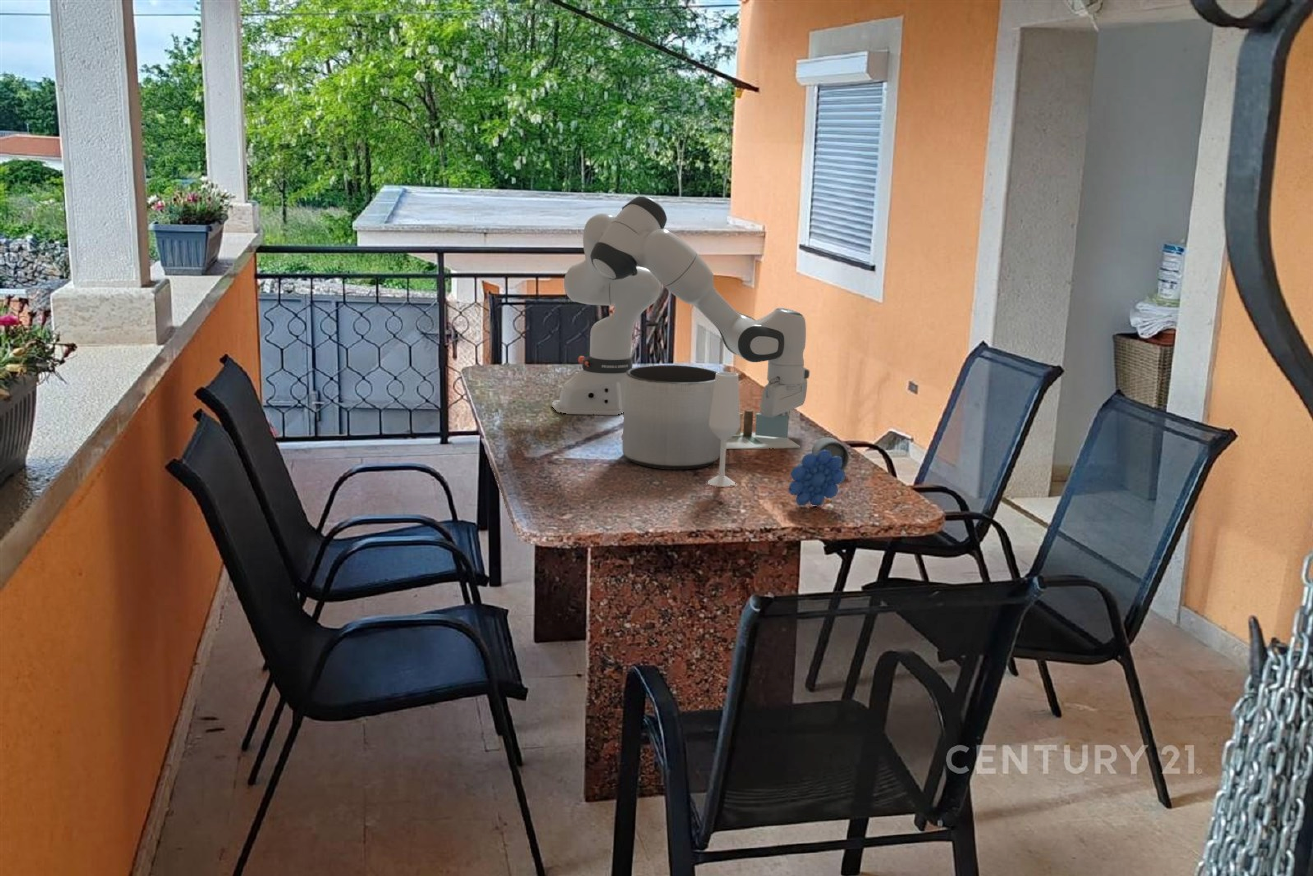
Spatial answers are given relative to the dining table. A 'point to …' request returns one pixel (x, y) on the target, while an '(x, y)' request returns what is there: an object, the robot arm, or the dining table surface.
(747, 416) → the pine fence section
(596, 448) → the dining table surface
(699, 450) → the planter
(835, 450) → the ceramic mug
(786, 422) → the light blue rectangular panel
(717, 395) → the champagne flute
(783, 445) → the card
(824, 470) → the grapes
